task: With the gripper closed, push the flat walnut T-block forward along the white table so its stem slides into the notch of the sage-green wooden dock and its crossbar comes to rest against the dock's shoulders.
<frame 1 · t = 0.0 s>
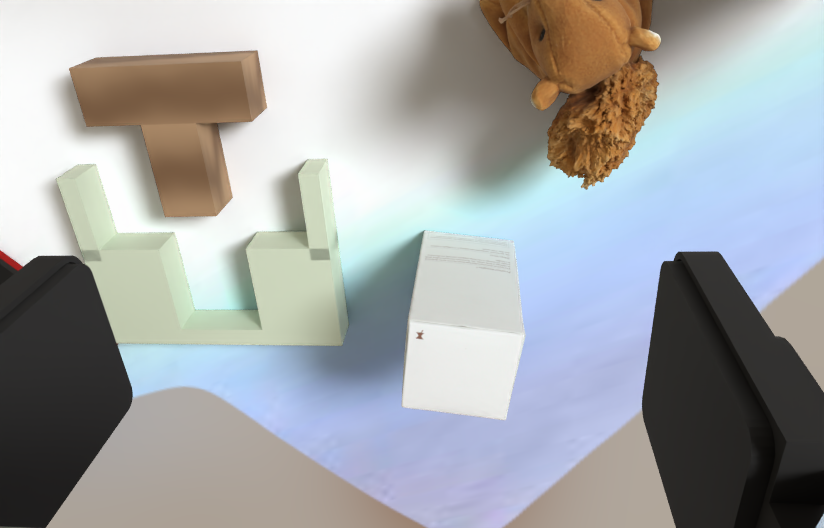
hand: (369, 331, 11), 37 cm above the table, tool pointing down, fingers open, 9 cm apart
tee: (175, 54, 46), on the table
dock: (215, 232, 53), on the table
cell phone: (36, 309, 59), on the table
stuffed squirrel: (579, 35, 43), on the table
supplement box: (464, 272, 53), on the table
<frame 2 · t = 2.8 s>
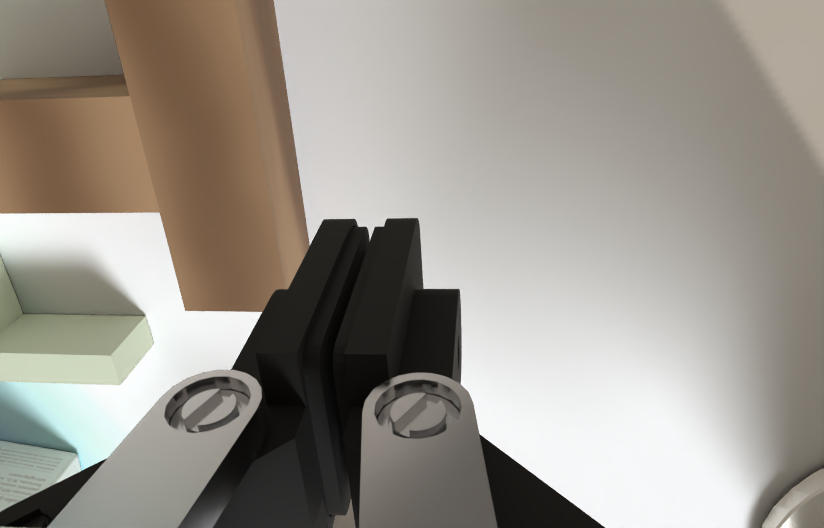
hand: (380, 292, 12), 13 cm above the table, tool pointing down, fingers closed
tee: (291, 124, 24), on the table
supplement box: (30, 486, 36), on the table
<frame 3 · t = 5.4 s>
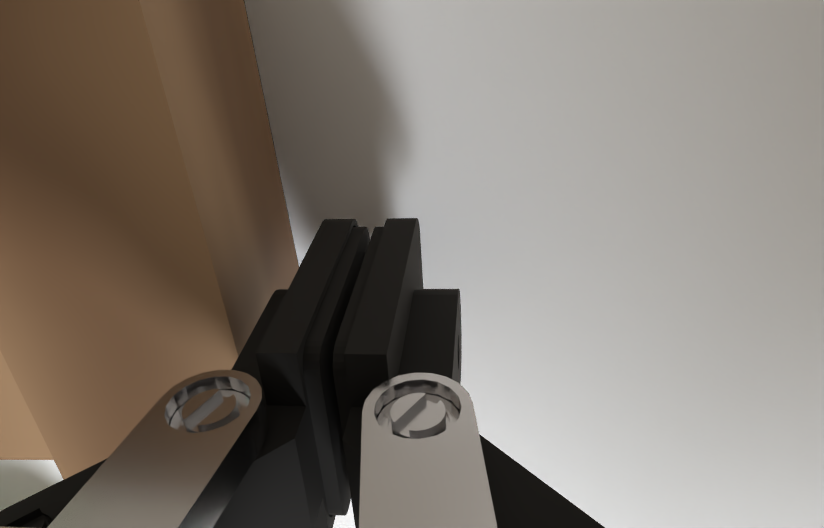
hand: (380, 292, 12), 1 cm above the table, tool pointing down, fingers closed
tee: (297, 260, 13), on the table, touching gripper
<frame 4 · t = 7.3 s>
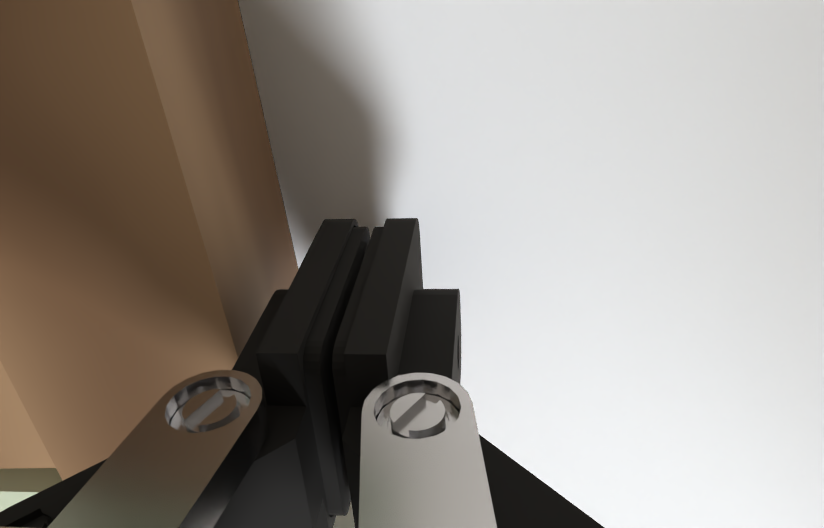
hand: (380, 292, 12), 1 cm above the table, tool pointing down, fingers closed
tee: (297, 263, 13), on the table, touching dock, gripper
dock: (97, 261, 14), on the table
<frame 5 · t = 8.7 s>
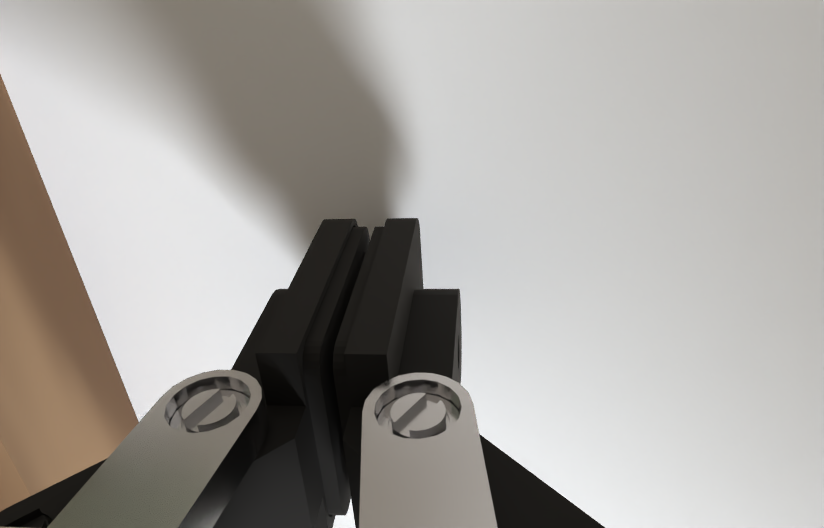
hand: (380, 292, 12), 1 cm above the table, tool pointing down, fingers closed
tee: (76, 262, 14), on the table
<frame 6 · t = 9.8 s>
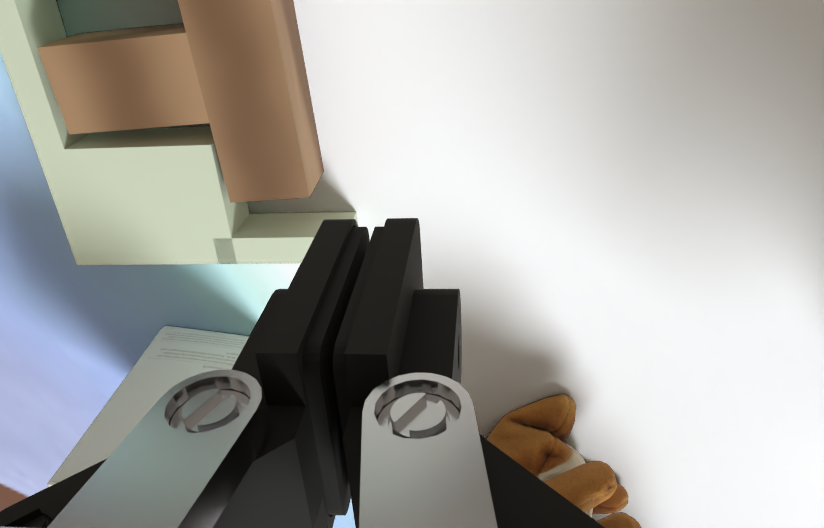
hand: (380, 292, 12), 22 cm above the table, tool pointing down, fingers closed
tee: (303, 55, 32), on the table
dock: (217, 56, 32), on the table
stuffed squirrel: (512, 460, 44), on the table
supplement box: (223, 374, 42), on the table
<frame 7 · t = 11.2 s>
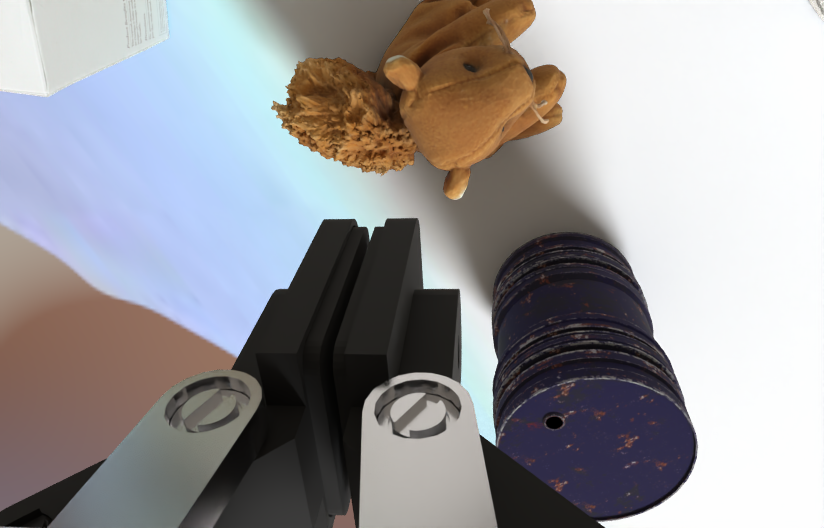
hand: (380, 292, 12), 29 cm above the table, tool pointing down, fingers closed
dark blue barrel: (563, 293, 45), on the table
stuffed squirrel: (434, 80, 39), on the table
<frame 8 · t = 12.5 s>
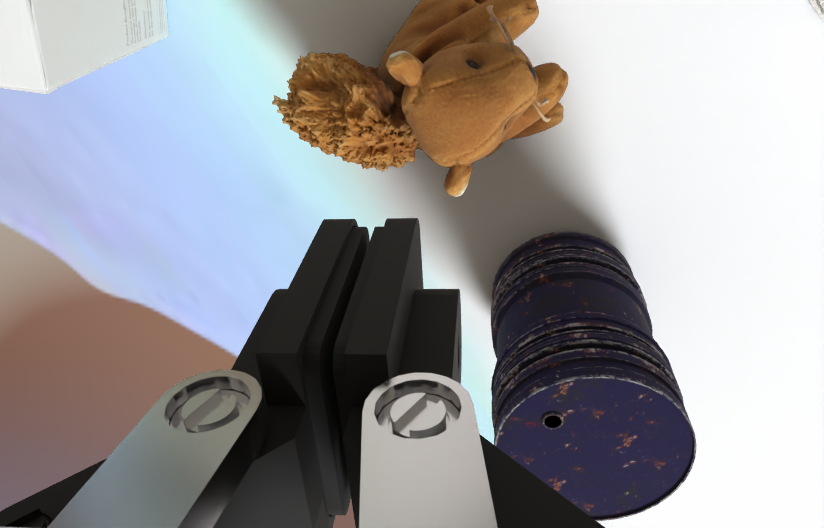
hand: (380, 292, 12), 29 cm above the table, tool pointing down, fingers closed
dark blue barrel: (562, 292, 45), on the table
stuffed squirrel: (435, 77, 39), on the table
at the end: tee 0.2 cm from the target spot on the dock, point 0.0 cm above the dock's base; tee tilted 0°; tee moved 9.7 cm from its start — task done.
